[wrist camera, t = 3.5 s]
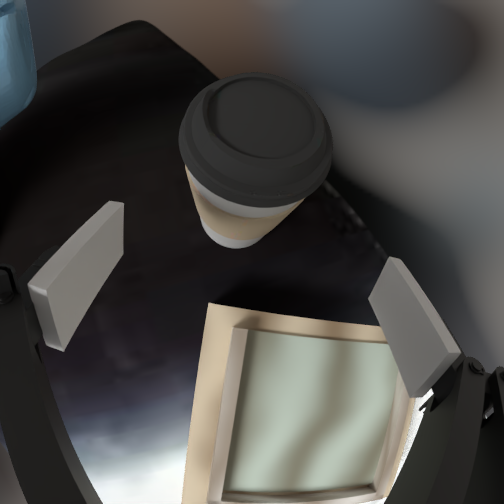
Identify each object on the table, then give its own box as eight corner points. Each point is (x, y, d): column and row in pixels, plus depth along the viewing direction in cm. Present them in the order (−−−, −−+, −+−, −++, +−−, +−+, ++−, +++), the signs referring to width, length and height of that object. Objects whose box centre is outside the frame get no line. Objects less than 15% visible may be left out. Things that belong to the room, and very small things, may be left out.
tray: (183, 483, 21) (180, 513, 16) (208, 306, 26) (208, 301, 21) (370, 482, 23) (395, 502, 18) (400, 330, 28) (434, 329, 23)
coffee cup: (279, 173, 30) (331, 67, 16) (285, 259, 28) (363, 192, 14) (189, 170, 29) (185, 53, 14) (187, 260, 27) (167, 184, 12)
